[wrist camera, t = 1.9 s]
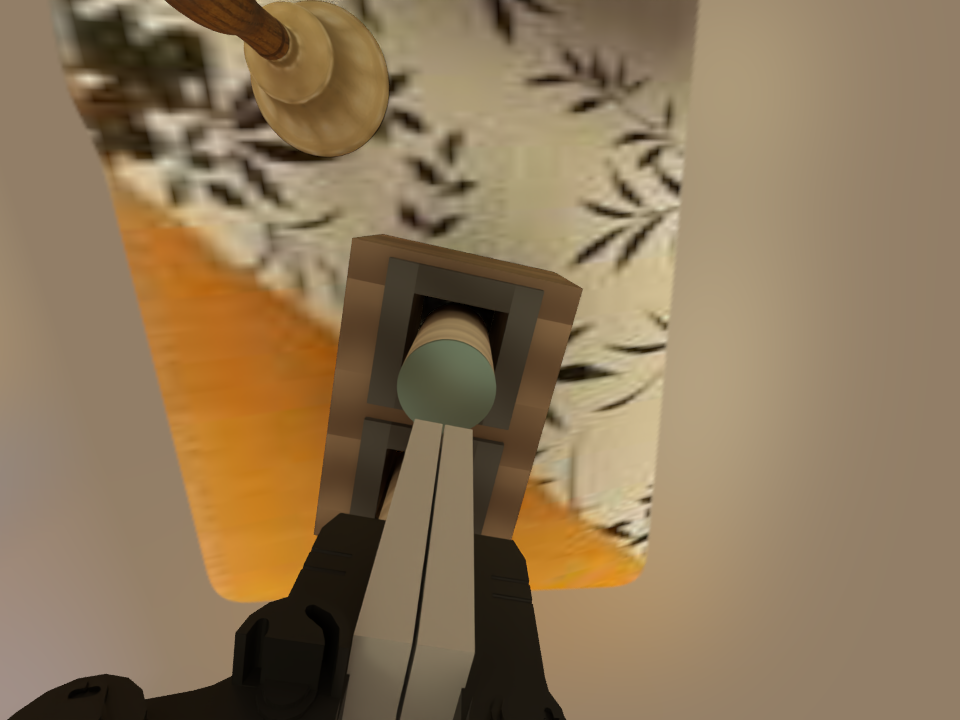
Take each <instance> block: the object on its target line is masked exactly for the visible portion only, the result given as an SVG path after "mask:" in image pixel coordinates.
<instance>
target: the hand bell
mask: <svg viewBox="0 0 960 720" xmlns="http://www.w3.org/2000/svg"><path fill="white" fill-rule="evenodd" d="M165 1H166V2H167V3H168V4H170V5H171V6H172V7H174V8H175V9H176V10H178V11H179V12H180V13H182V14H183V15H185V16H186V17H188V18H189V19H191V20H192V21H194V22H196V23H198V24H199V25H202V26H204V27H206V28H208V29H211V30H213V31H216V32H219V33H223V34H227V35H237V36H238V37H240V38H241V39H242V40H243V41H244V53H245V59H246V62H247V65H248V68H249V71H250V73H251V84H252V89H253V93H254V96H255V99H256V102H257V104H258V107H259V109H260V111H261V113H262V115H263V117H264V118H265V120H266V121H267V123H268V124H269V125H270V127H271V128H272V129H273V130H274V131H275V132H276V133H277V134H278V135H279V136H280V137H281V138H282V139H283V140H284V141H285V142H287V143H288V144H290V145H291V146H293V147H295V148H296V149H298V150H300V151H302V152H305V153H308V154H311V155H315V156H323V157H333V156H340V155H344V154H347V153H350V152H352V151H354V150H356V149H358V148H359V147H361V146H362V145H364V144H365V143H366V142H367V141H368V140H369V139H370V138H371V137H372V136H373V135H374V133H375V132H376V130H377V129H378V127H379V126H380V124H381V122H382V120H383V117H384V115H385V112H386V108H387V104H388V98H389V78H388V72H387V66H386V63H385V59H384V56H383V54H382V52H381V49H380V47H379V45H378V43H377V41H376V40H375V38H374V37H373V35H372V34H371V32H370V31H369V30H368V29H367V28H366V27H365V25H364V24H363V23H362V22H361V21H360V20H359V19H358V18H356V17H355V16H354V15H352V14H351V13H349V12H348V11H346V10H345V9H343V8H341V7H339V6H336V5H334V4H331V3H328V2H322V1H315V0H307V1H300V2H296V3H292V2H274V3H270V4H268V5H265V6H264V7H261V6H260V5H259V4H258V3H257V2H256V0H165Z"/></svg>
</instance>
